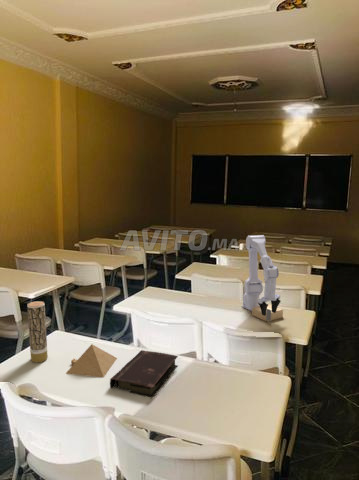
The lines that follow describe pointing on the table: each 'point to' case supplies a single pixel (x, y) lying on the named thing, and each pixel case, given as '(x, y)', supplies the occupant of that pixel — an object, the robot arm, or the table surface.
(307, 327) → the table surface
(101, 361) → the model pyramid
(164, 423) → the table surface
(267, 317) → the carton flap
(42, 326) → the bark-patterned cylinder
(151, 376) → the diary
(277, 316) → the carton
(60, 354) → the table surface
